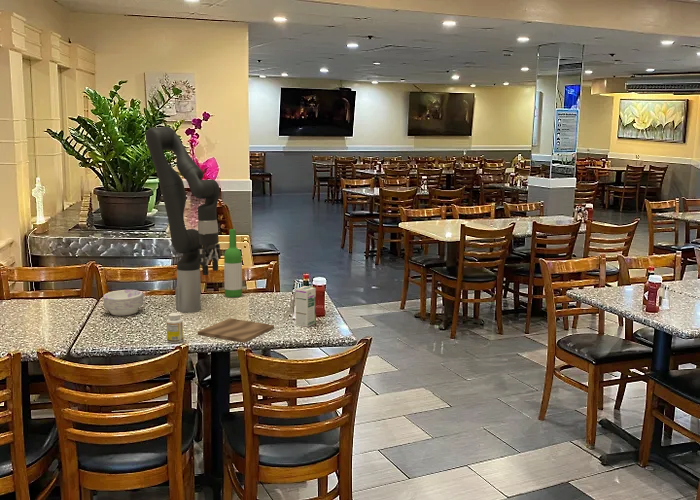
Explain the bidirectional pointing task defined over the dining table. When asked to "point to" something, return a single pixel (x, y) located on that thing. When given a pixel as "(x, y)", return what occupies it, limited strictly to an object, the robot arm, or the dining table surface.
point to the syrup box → (305, 306)
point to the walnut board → (236, 330)
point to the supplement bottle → (174, 328)
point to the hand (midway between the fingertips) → (210, 272)
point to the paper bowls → (123, 302)
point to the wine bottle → (233, 268)
